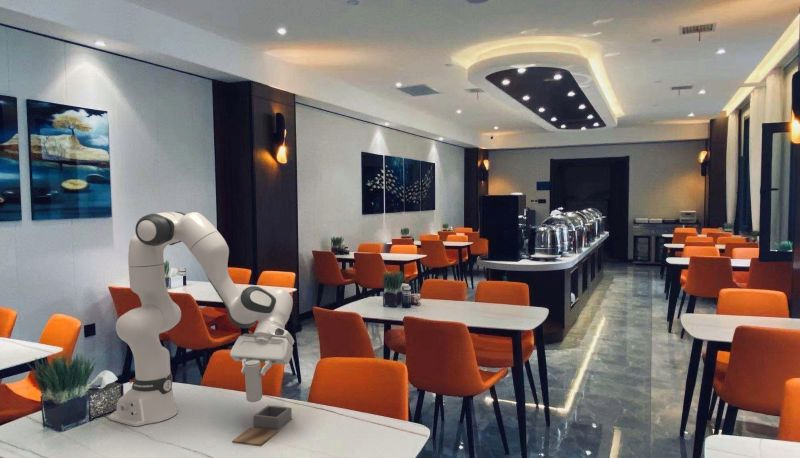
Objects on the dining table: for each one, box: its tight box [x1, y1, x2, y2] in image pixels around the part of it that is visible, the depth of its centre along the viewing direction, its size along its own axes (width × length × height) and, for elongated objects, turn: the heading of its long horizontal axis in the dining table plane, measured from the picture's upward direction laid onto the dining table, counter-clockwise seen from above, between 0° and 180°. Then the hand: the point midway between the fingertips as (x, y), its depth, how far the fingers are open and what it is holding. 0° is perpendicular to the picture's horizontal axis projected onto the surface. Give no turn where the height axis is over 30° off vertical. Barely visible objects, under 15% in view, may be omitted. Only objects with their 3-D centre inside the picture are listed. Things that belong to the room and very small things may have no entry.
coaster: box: [231, 426, 279, 447], centre depth 167 cm, size 10×10×1 cm
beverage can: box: [244, 360, 263, 403], centre depth 166 cm, size 5×5×12 cm
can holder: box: [252, 404, 293, 431], centre depth 176 cm, size 9×9×4 cm
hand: (252, 374), depth 165 cm, fingers closed on beverage can, 5 cm apart
